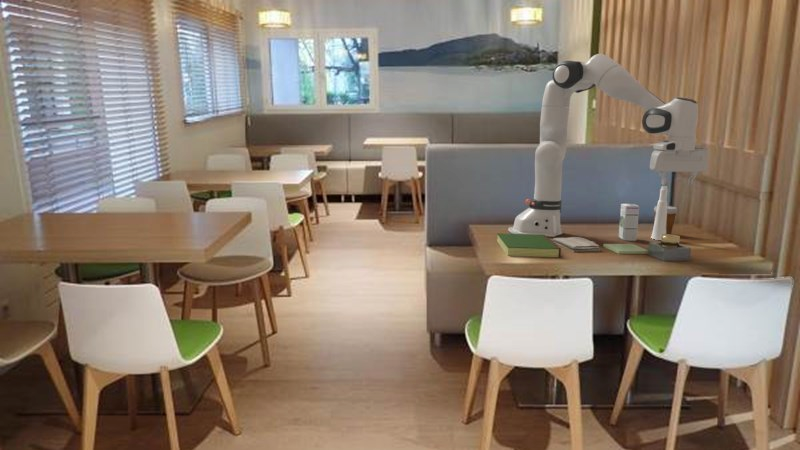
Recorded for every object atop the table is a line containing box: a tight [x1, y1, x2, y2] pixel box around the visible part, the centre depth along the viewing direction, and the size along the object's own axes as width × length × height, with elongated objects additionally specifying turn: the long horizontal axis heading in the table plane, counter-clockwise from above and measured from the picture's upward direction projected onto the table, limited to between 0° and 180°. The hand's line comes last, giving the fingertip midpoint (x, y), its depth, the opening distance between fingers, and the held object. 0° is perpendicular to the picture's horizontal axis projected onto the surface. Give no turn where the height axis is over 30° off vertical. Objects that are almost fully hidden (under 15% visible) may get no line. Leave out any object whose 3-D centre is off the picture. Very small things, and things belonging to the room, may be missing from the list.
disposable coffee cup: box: [653, 205, 678, 234], centre depth 256 cm, size 10×10×12 cm
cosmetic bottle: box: [650, 185, 669, 241], centre depth 244 cm, size 6×6×22 cm
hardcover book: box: [496, 232, 562, 258], centre depth 222 cm, size 25×19×4 cm
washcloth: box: [551, 236, 601, 253], centre depth 228 cm, size 12×18×3 cm, turn 14°
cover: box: [660, 233, 681, 248], centre depth 213 cm, size 6×6×8 cm
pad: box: [602, 243, 649, 255], centre depth 224 cm, size 12×12×1 cm
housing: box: [647, 241, 692, 262], centre depth 214 cm, size 10×10×4 cm
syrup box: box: [617, 203, 640, 242], centre depth 243 cm, size 6×6×14 cm
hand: (676, 184), depth 209 cm, fingers open, 8 cm apart
